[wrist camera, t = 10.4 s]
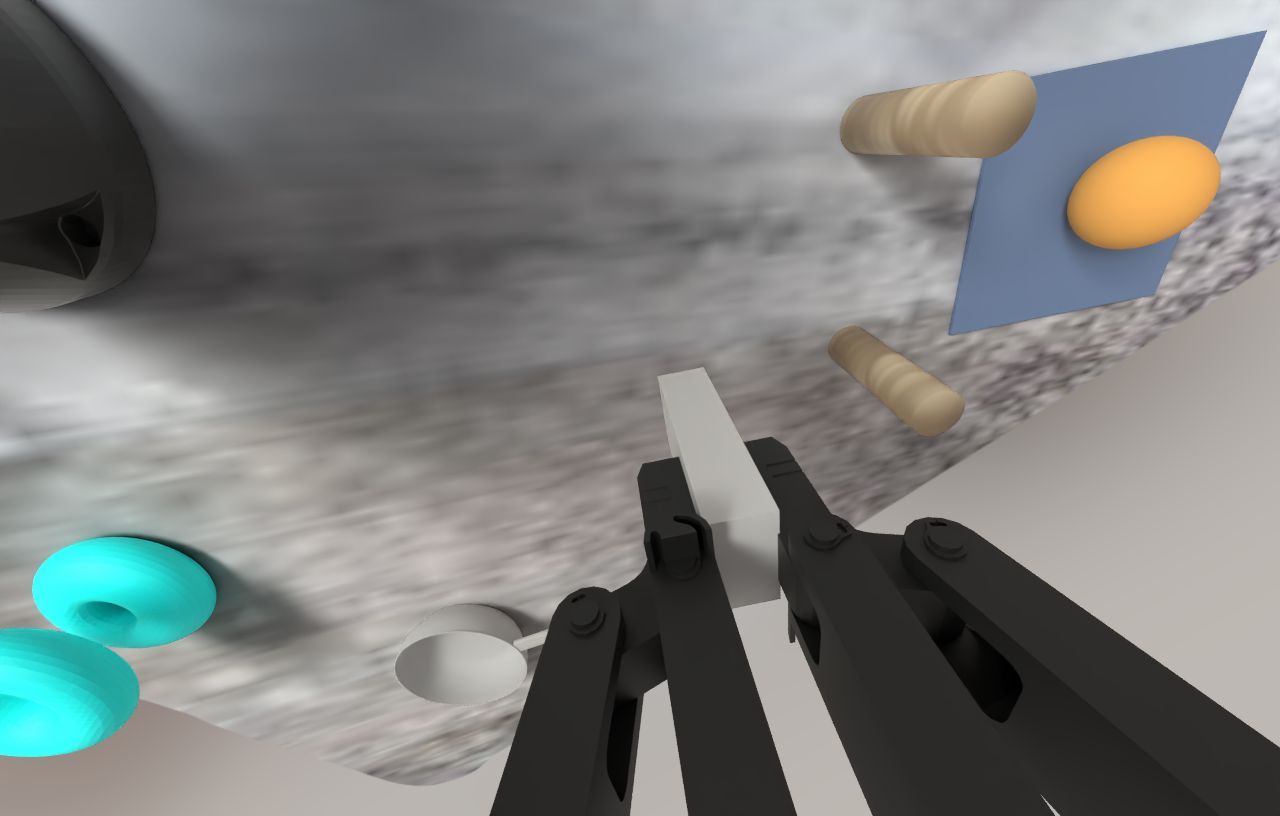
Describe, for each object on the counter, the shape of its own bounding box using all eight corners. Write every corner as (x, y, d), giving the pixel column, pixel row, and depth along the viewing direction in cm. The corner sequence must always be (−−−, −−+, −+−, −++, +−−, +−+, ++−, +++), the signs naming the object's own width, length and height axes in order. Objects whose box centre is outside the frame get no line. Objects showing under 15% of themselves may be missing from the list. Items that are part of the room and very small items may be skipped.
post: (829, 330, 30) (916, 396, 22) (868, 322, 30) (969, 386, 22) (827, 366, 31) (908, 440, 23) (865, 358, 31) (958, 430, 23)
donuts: (134, 705, 26) (84, 779, 29) (247, 565, 34) (199, 633, 38) (-112, 648, 22) (-140, 741, 25) (85, 505, 30) (46, 587, 33)
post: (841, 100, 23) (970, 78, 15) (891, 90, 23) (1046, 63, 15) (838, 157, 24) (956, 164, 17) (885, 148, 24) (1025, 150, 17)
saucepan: (380, 622, 39) (362, 666, 36) (562, 545, 37) (560, 584, 34) (457, 680, 45) (447, 722, 41) (621, 615, 42) (624, 655, 39)
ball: (1180, 122, 25) (1060, 144, 26) (1284, 126, 20) (1132, 153, 21) (1141, 227, 27) (1035, 243, 29) (1224, 252, 23) (1094, 269, 24)
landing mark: (998, 83, 23) (1001, 82, 23) (1262, 31, 23) (1266, 30, 23) (948, 334, 31) (950, 335, 30) (1151, 293, 31) (1154, 294, 30)
